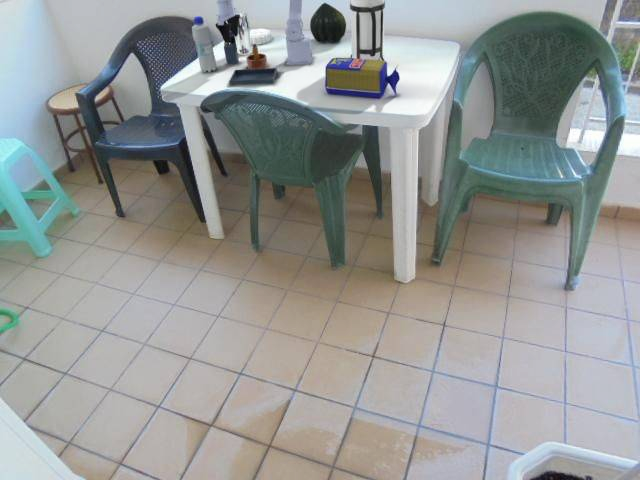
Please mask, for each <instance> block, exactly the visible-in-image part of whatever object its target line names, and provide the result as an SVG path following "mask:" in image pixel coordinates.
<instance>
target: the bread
mask: <svg viewBox="0 0 640 480" xmlns="http://www.w3.org/2000/svg"><path fill="white" fill-rule="evenodd" d="M398 66H399V64H397V65H396V67H395V68H394V69H393V71H392V73H391V74H390V75H388V62H387V61H386V60H385V61H382V60H381V59H379V60H369V59H354V58H351V57H333V58H331V59H330V61H328V63H327V64H326V65H325V73H324V74H325V76H324V77H325V78H324V81H325V82H324V88H325V92H326V93H327V94H328V95H335V96H346V97H347V96H349V97H360V98H369V99H381V98H382V97H383V95H384V94H385V92H386V90H387V89H388V85H389V86H390V88H391V89H392V91H393V93H394V94H395V96H397V95H398V94H397V85H398V83H399V81H400V80H401V77H400V74H399V72H398V71H397V68H398Z"/></svg>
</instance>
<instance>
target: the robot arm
mask: <svg viewBox="0 0 640 480" xmlns="http://www.w3.org/2000/svg"><path fill="white" fill-rule="evenodd" d="M215 1H216V6H217V10H218V12H217V13H216V14H215V16H216V17H217V19H216V23H215V24H214V25H215V27H216V29H217V30H218V32H219V33H220V35H221V38H222V40H223V43H224V42H225V43H229V44H230V42H231V36H230V32H232V33H233V34H235V36H238V23H239V19H240V15H239V14H236V13H238V11H237V7H234V2H233V0H215ZM302 7H303V0H289V7H288V8H289V10H288V19H287V20H286V27H285V45H286V53H287V60H286V63H285V65H286V66H287V65H288V66H289V65H306V64H307V65H311V63H312V60H313V52H312V41H311V37H310V36H309V37H307V36H305V34H304V33H303V28H304V22H303V20H302V11H303V10H302V9H303V8H302Z"/></svg>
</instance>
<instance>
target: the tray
mask: <svg viewBox="0 0 640 480" xmlns="http://www.w3.org/2000/svg"><path fill="white" fill-rule="evenodd" d="M277 75H278V68H276V67H273V68H272V67H271V68H268V67H267V68H265V69H248V68H247V69H246V68H245V69H244V68H243V69H234V70H233V72H232V75H231V77H230V79H229V85H230V86H244V85H248V86H249V85H273V84H274V83H275V81H276V78H277Z"/></svg>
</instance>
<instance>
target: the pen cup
mask: <svg viewBox="0 0 640 480" xmlns="http://www.w3.org/2000/svg"><path fill="white" fill-rule="evenodd" d="M258 54H259V60H254V56H253V53H251V54H248V55H247V56H246V66H247V69H268V67H269V65H268V58H267V55H266V54H264V53H261V52H260V53H259V52H258Z"/></svg>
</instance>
